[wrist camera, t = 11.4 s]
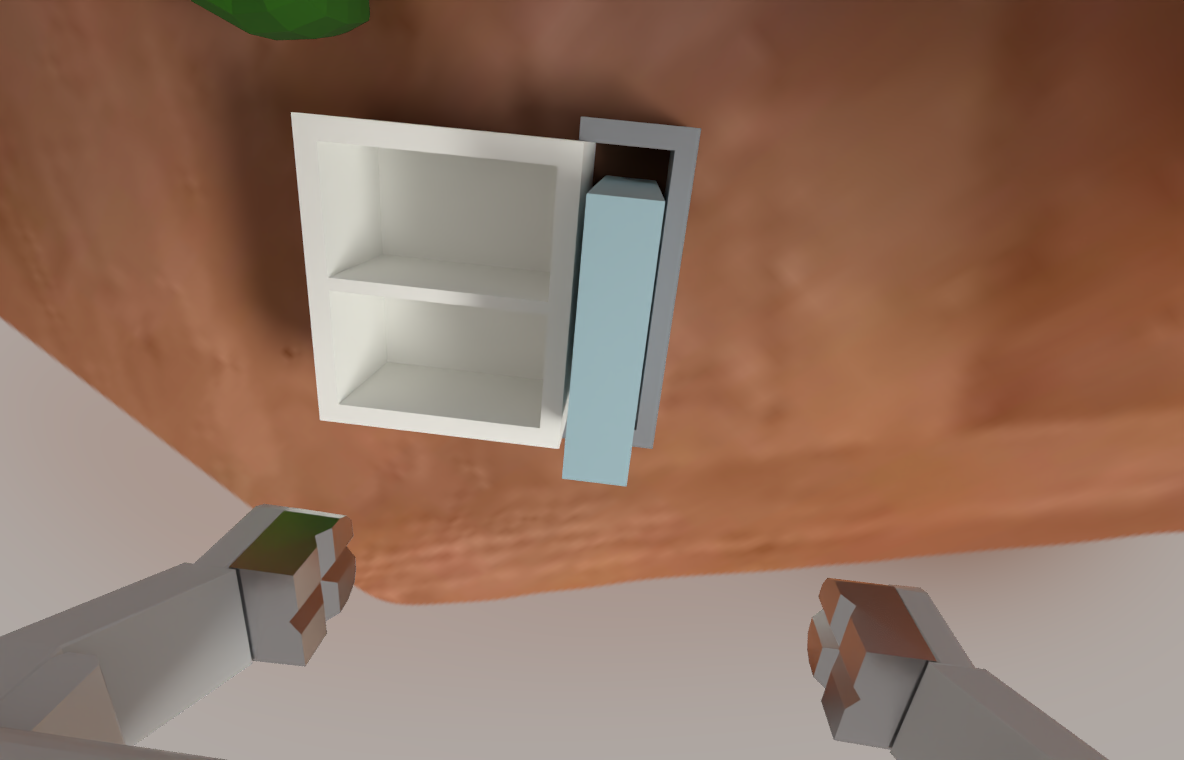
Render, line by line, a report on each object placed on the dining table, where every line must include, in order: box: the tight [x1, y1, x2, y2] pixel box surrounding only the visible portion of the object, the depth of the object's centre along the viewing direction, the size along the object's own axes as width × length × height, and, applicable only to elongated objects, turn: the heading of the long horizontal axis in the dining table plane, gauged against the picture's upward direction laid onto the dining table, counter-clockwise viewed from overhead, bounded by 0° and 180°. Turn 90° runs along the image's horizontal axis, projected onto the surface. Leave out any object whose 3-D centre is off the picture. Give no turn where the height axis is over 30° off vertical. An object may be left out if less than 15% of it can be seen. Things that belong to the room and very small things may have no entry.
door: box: [562, 175, 665, 486], centre depth 27 cm, size 3×11×12 cm, turn 174°
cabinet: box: [291, 112, 701, 449], centre depth 29 cm, size 17×16×7 cm
